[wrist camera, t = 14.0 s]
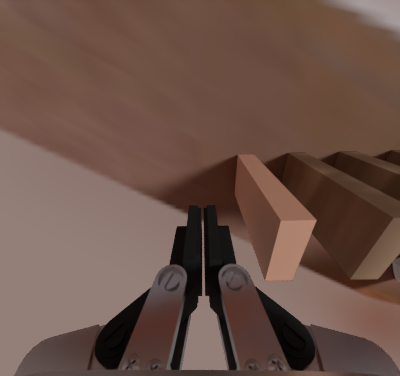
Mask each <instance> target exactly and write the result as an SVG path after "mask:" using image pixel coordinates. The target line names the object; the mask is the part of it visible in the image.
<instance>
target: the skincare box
mask: <svg viewBox="0 0 400 376" xmlns="http://www.w3.org/2000/svg"><path fill="white" fill-rule="evenodd" d="M392 264H393V272H394V276H395V278H396V280H397V281H398V282H399V283H400V257H398V258H396V259H395V260H394V261H393V262H392Z"/></svg>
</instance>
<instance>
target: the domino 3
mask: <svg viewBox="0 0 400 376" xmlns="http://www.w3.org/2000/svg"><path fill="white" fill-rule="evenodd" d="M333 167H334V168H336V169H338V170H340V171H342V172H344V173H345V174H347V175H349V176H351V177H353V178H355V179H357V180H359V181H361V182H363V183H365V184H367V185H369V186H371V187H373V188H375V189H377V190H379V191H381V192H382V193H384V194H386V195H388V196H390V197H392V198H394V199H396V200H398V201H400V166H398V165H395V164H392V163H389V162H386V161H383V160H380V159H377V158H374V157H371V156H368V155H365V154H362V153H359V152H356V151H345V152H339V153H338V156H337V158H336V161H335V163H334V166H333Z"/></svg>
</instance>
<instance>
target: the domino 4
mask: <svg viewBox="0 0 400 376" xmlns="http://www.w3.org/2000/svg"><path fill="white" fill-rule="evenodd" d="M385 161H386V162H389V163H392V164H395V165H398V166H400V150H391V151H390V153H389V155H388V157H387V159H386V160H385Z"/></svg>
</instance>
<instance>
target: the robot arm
mask: <svg viewBox="0 0 400 376" xmlns="http://www.w3.org/2000/svg"><path fill="white" fill-rule="evenodd" d="M204 256H205V295H206V296H209V298H210V299H209V301H210V307H211V308H212V309H213V311H214V312H215V313H216V314H217V319H218V323H219V329H220V334H221V339H222V344H223V349H224V354H225V359H226V364H227V370H181V369H182V364H183V358H184V352H185V347H186V341H187V335H188V330H189V324H190V318H191V313H192V312H193V311H194V310H195V309H196V308H197V303H198V296H202V224H201V208H198V206H189V212H188V221H187V226H178V227H177V229H176V234H175V239H174V244H173V249H172V254H171V260H170V264H169V265H168V266H165V267H164V268H162V269H161V270H160V271H159V272H158V274H157V275H156V277H155V280H154V282H153V285H152V287H151V288H150V289H148V290H147V291H146V292H145V293H144V294H142V295H141V296H140V297H139V298H137V299H136V300H135V301H134V302H133V303H131V304H130V305H129V306H128V307H126V308H125V309H124V310H123V311H121V312H120V313H119V314H118V315H117V316H115V317H114V318H113V319H112V320H110V321H109V322H108V323H107V324H106V325H103V326H99V325H95V326H91V327H88V328H84V329H81V330H77V331H73V332H69V333H66V334H62V335H58V336H54V337H51V338H48V339H46V340H44V341H42V342H40V343H39V344H37V345H36V346H35V347H33V348H32V350H31V351H30V352H29V353H28V354H27V355H26V356H25V358H24V359H23V361H22V362H21V364H20V365H19V367H18V369H17V371H16V373H15V375H14V376H400V371H399V369H398V367H397V365H396V364H395V363H394V361H393V360H392V358H391V357H390V356H389V355H388V354H387V353H386V352H385V351H384V350H383V349H382V348H381V347H379V346H378V345H377V344H375V343H374V342H372V341H370V340H367V339H365V338H362V337H358V336H354V335H350V334H347V333H343V332H339V331H335V330H331V329H327V328H323V327H320V326H316V325H312V324H311V325H310V326H307V325H303V324H302V323H301V322H300V321H299V320H298V319H296V318H295V317H294V316H292V315H291V314H290V313H289V312H287V311H286V310H285V309H283V308H282V307H281V306H280V305H278V304H277V303H276V302H274V301H273V300H272V299H271V298H269V297H268V296H267V295H266V294H264V293H263V292H262V291H260V290H259V289H258V288H257V287H255V286H254V284H253V281H252V279H251V277H250V275H249V273H248V272H247V271H246V270H245V269H244V268H243V267H241V266H239V265H237V264H236V260H235V255H234V250H233V245H232V241H231V236H230V231H229V227H228V226H218V223H217V215H216V207H215V205H207V208H204Z"/></svg>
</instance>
